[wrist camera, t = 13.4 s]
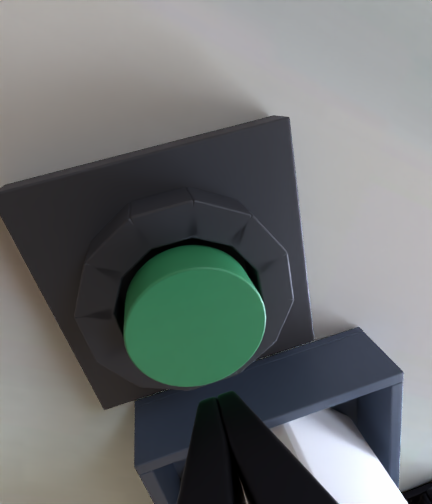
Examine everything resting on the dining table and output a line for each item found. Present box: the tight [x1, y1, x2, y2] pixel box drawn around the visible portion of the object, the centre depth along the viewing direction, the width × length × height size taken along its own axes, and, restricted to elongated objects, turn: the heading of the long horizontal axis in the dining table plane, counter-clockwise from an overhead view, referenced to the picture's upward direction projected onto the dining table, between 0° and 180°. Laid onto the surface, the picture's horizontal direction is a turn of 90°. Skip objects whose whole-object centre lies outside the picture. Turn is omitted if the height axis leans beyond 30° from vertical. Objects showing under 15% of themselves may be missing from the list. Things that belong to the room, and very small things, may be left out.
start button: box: [124, 245, 266, 387], centre depth 11 cm, size 4×4×2 cm
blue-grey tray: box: [134, 327, 404, 504], centre depth 18 cm, size 11×12×3 cm
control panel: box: [0, 116, 314, 410], centre depth 13 cm, size 10×10×3 cm
